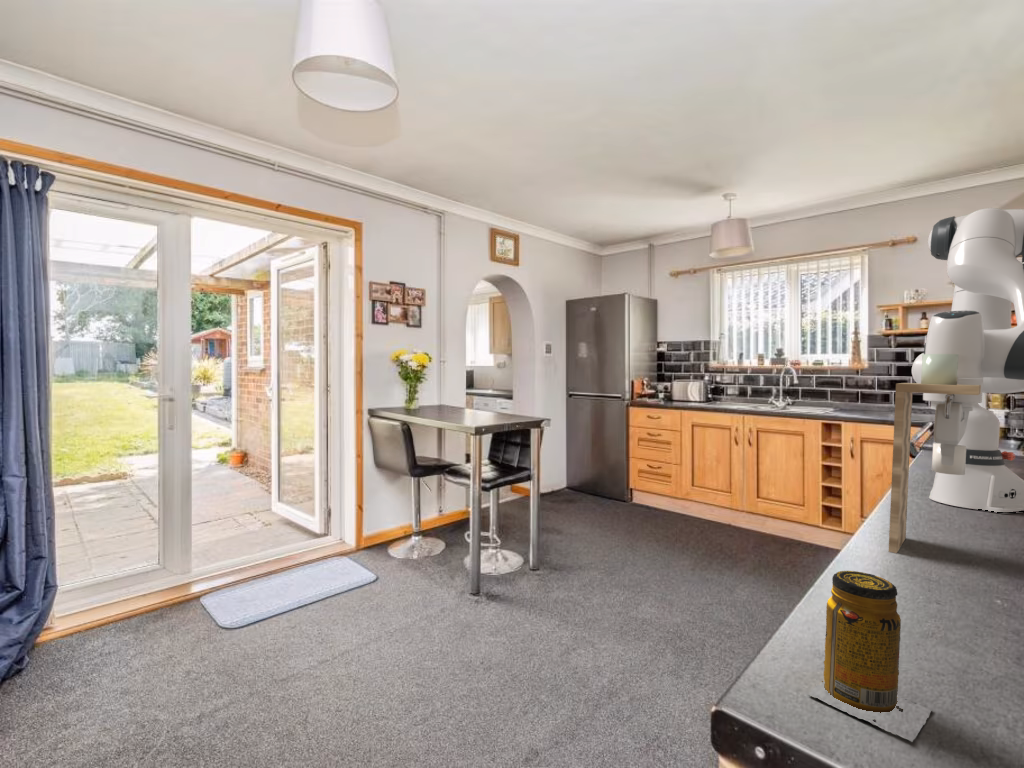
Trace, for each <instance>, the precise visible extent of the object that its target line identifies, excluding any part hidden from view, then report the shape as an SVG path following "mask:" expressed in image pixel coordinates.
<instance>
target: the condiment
mask: <svg viewBox="0 0 1024 768" xmlns="http://www.w3.org/2000/svg"><path fill="white" fill-rule="evenodd" d="M831 580H832V588H831V589H830V590H831V591H830V592H831V596H830V597H829V598H828V599H827V603H826V606H825V607H826V608H825V609H826V612H825V614H826V615H825V619H826V620H825V621H826V622H825V623H826V624H825V637H824V641H825V642H824V661H823V666H824V667H823V680H824V682H825V683H824V688H825V690H827V691H828V693H830V695H832V696H833V697H834V698H836V699H838V700H840V701H842V702H844V703H847V704H849V705H851V706H853V707H856V708H858V709H862V710H866V711H873V712H880V713H881V712H890V711H892V710H893V709H894V708H895V706H896V704H897V702H898V701H897V698H898V697H897V695H898V693H899V692H898V691H899V675H900V670H899V668H900V666H899V665H900V650H901V649H900V645H901V643H900V642H901V629H902V628H901V624H902V623H901V620H902V619H901V616H900V614H899V612H897V609H898V602H897V596H898V589H897V586H895V584H893V583H892V582H890V581H889V580H887V579H885V578H884V577H881V576H877V575H875V574H872V573H867V572H863V571H858V570H856V571H855V570H841V571H837V572H836V573H834V574H833V576H832V579H831ZM896 707H897V706H896Z"/></svg>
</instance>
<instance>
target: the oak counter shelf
mask: <svg viewBox="0 0 1024 768" xmlns="http://www.w3.org/2000/svg"><path fill="white" fill-rule="evenodd" d="M913 393H914V394H915V393H916V394H919V393H920V394H923V393H937V394H963V395H979V394H980V393H981V385H958V384H957V385H937V384H921V383H916V382H915V383H914V382H901V383H895V396H894V399H895V400H894V418H893V419H894V421H893V422H894V423H893V443H892V465H891V468H892V469H891V487H890V509H889V510H890V514H889V531H888V533H889V536H888V539H889V540H888V553H889V552H890V553H894V554H897V553H898V552H899V551H900V548H901V547H902V546H903V544H904V542H905V540H906V539H907V538H906V537H907V522H908V521H907V517H908V497H909V495H908V493H909V477H910V476H909V475H910V474H909V473H910V455H911V454H910V453H911V452H910V451H911V434H912V433H911V429H912V411H913V410H912V407H913V406H912V405H913Z"/></svg>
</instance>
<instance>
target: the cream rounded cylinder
mask: <svg viewBox="0 0 1024 768" xmlns="http://www.w3.org/2000/svg"><path fill="white" fill-rule="evenodd" d="M940 446H941V443H936V442H933V443H932V457H931V459H932V461H931V471H932V472H935V473H936V472H938V473H944V474H953V475H965V463H966V446H963V445H955V452H954V464H953V465H952V466H948V465H943V464H942V463H941V448H940Z"/></svg>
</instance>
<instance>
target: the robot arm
mask: <svg viewBox="0 0 1024 768" xmlns="http://www.w3.org/2000/svg"><path fill="white" fill-rule="evenodd" d="M932 227H933V228H932V229H931V231H930V232H929V235H928V239H927V246H928V249H929V252H930V254H931V256H932V257H933V258H935V259H936V260H940V261H941V260H942V261H946V262H947V263H946V271H947V273H946V274H947V276H948V278H949V280H950V281H951V282H952V283H953V285H954V288H953V295H952V303H951V310H950V311H944V312H942V311H941V312H937V313H935V314H934V315H932V316H931V318H930V322H929V325H928V329H927V335H926V341H925V342H924V347H923V352H922V353H921V354H919V355H918V356H917V357H916V358H915V360H913V363H912V365H911V366H912V367H911V375H912V378H913V380H914V382H915V383H921V374H922V354H959V355H958V375H957V384H958V385H981V393H980V394H979V395H963V394H937V393H922V401H926V402H930V409H931V410H935V411H934V424H933V441H934V442H933V443H941V446H940V448H941V463H942V464H943V465H948V466H952V465H953V464H954V452H955V445H963V446H966V463H965V475H953V474H944V473H938V472H935V475H934V480H933V485H932V488H931V490H930V494H929V496H928V499H930V500H932V501H934V502H936V503H942V504H943V505H950V506H954V507H959V508H963V509H970V510H971V509H973V510H978V509H982V510H981V511H985V510H988V511H987V512H991V511H994V512H993V513H997V512H1013V511H1021V510H1024V479H1023V478H1021V477H1020V476H1019V475H1017V474H1016V473H1015V472H1014V471H1012V470H1011V469H1010V468H1008V467H1007V466H1006V462H1005V460H1008V461H1014V460H1015V459H1016V454H1015V452H1012V451H1006V450H1004V451H1001V450H1000V449H999V446H1000V445H999V444H1000V429H1001V428H1000V427H1001V422H1000V420H999V417H998V416H997V415H996V414H995V413H994V412H992V411H991V410H989V409H987V408H984V407H983V406H981V405H980V404H982V403H983V393H984V394H1012V393H1013V394H1014V393H1021V392H1024V208H1023V209H1022V208H1013V209H1012V208H1011V209H1002V208H996V207H986V208H981V209H977V210H975V211H973V212H970V213H969V214H966V215H961V216H955V215H954V216H950V217H945V218H942V219H940V220H939V221H937V222H936V223H935V224H934V225H933V226H932ZM1020 256H1022V257H1021V261H1019V260H1018V259H1017V257H1020ZM1012 304H1013V308H1014V313H1015V321H1016V326H1012V322H1011V321H1012V320H1011V319H1012V318H1011V317H1012Z"/></svg>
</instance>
